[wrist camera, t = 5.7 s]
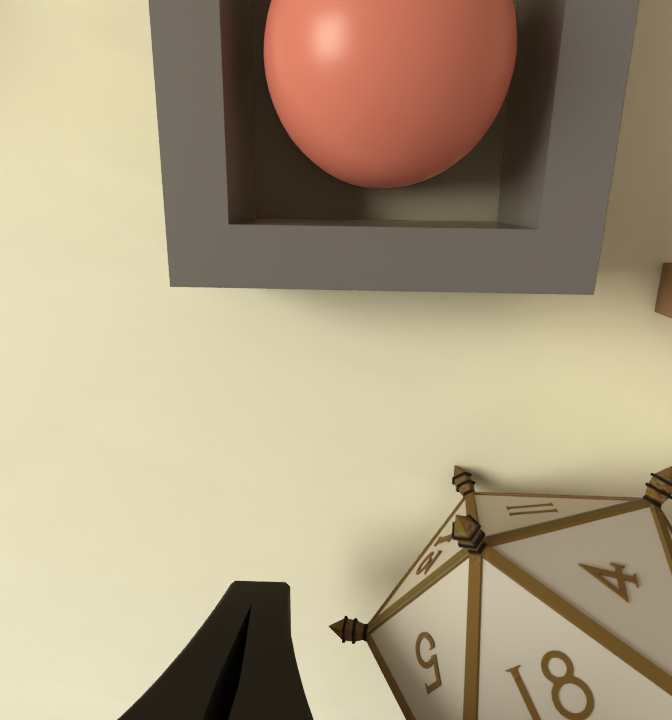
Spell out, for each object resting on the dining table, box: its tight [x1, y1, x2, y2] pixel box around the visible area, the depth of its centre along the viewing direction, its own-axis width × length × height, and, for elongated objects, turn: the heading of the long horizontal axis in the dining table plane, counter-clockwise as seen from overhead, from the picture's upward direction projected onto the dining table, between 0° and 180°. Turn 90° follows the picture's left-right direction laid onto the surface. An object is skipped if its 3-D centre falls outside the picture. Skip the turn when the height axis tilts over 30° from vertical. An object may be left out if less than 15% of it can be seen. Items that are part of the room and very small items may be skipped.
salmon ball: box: [264, 0, 517, 189], centre depth 10 cm, size 4×4×4 cm
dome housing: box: [149, 0, 639, 295], centre depth 11 cm, size 8×8×3 cm
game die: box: [329, 466, 672, 720], centre depth 12 cm, size 9×8×10 cm
